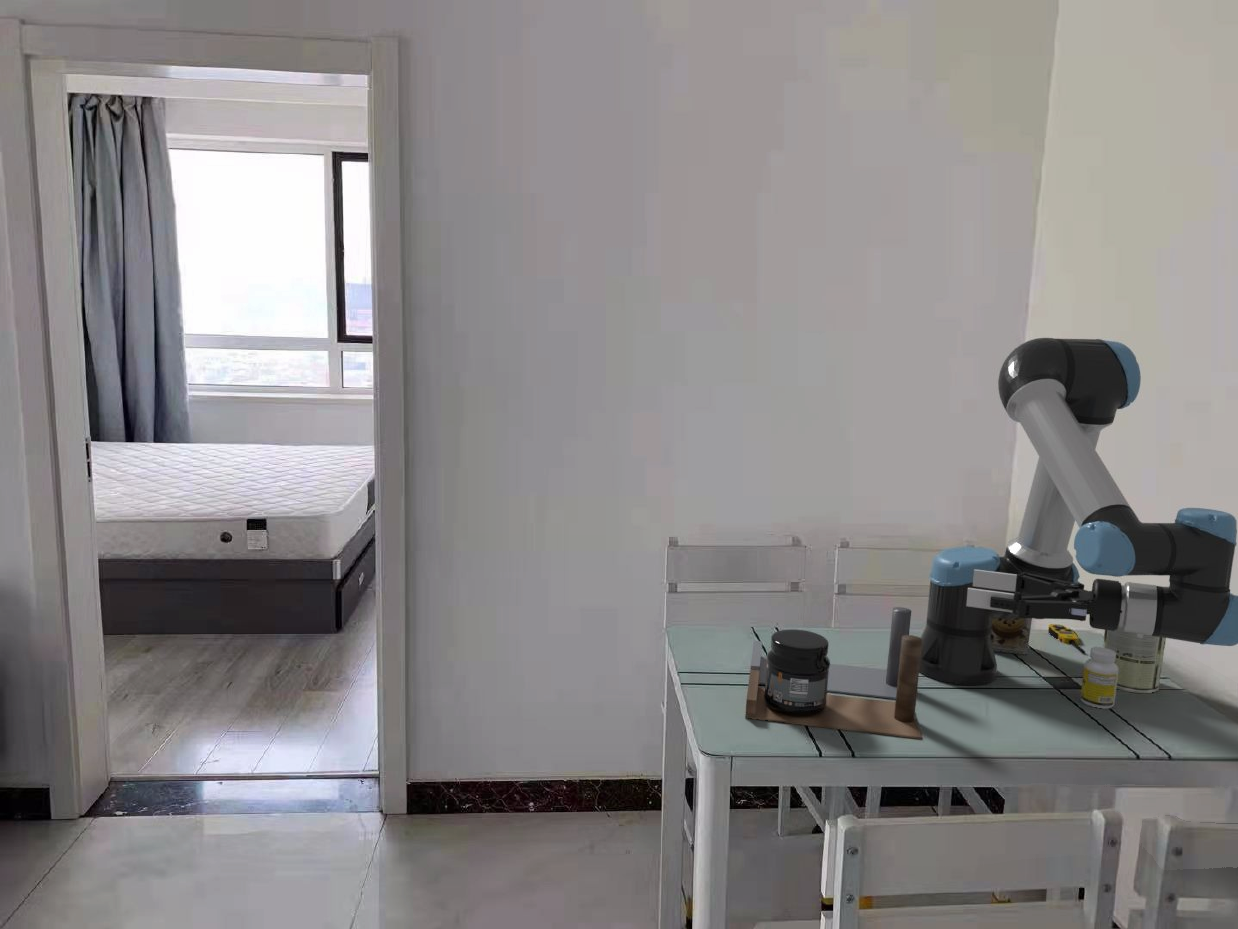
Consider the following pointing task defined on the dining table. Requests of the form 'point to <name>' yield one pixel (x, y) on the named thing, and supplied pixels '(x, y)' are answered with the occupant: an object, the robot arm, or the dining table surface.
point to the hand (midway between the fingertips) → (970, 586)
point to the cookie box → (1011, 634)
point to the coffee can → (1136, 660)
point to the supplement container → (797, 673)
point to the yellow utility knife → (1064, 635)
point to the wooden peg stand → (857, 703)
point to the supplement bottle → (1100, 679)
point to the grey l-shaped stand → (858, 677)
